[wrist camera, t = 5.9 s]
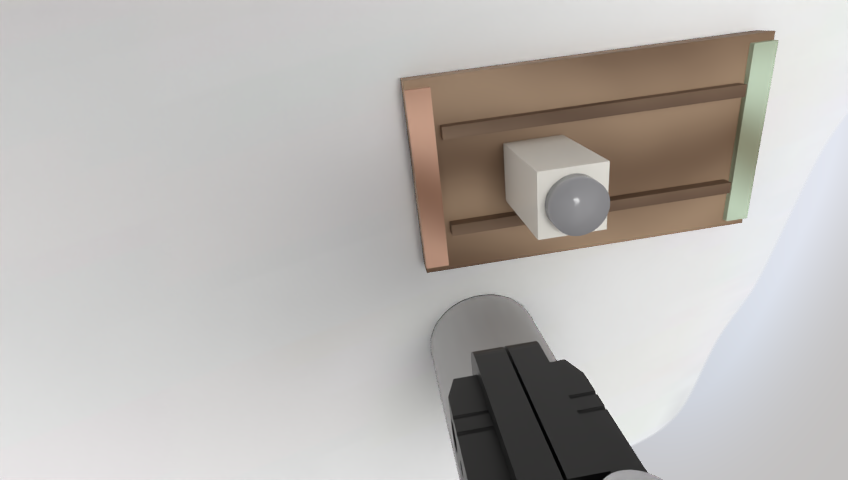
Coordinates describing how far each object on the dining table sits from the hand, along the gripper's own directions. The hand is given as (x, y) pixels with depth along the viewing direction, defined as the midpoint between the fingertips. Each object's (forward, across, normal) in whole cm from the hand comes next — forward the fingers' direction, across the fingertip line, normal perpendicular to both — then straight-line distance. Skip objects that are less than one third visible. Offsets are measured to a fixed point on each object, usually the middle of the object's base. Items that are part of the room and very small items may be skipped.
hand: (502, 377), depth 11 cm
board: (+16, -8, 0) cm, 18 cm away
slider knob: (+15, -6, 0) cm, 16 cm away
